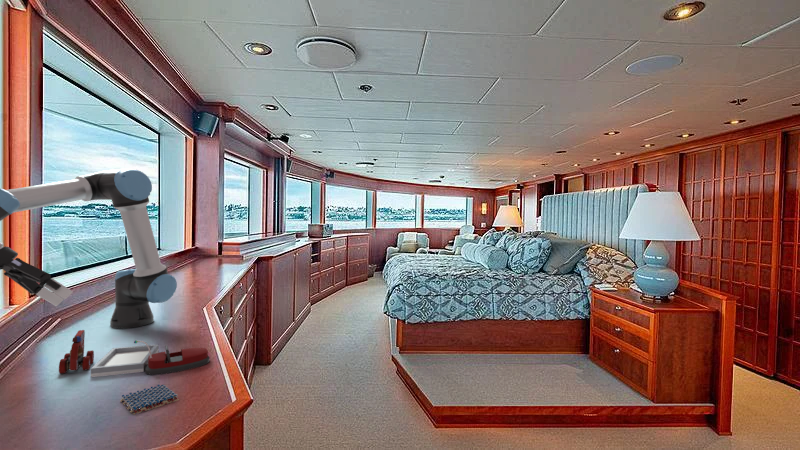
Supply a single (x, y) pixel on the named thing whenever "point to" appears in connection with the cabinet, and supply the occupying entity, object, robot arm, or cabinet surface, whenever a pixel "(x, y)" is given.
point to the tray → (124, 360)
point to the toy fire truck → (76, 355)
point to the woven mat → (149, 398)
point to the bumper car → (175, 360)
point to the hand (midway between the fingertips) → (64, 299)
